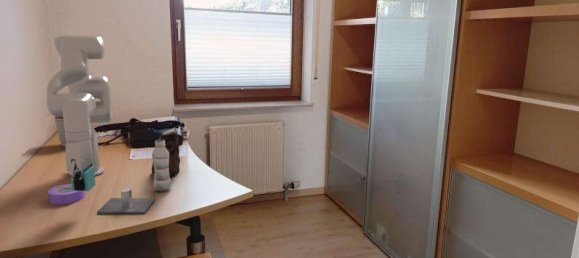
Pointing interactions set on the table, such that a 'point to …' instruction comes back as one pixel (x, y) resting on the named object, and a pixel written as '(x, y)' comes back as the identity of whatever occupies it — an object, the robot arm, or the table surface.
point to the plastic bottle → (161, 166)
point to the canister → (60, 129)
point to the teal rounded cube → (86, 178)
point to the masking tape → (64, 194)
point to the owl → (171, 151)
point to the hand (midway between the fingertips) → (83, 186)
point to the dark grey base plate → (126, 204)
